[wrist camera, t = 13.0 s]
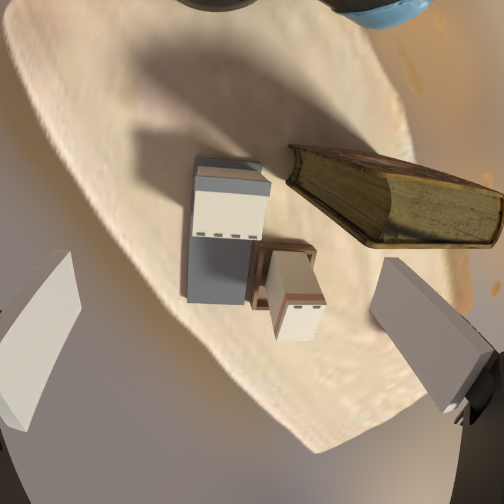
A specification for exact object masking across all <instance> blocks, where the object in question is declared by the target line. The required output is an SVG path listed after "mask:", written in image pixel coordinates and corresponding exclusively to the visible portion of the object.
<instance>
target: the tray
mask: <svg viewBox="0 0 504 504" xmlns="http://www.w3.org/2000/svg"><path fill="white" fill-rule="evenodd" d="M273 250H274V251H292V252H306V255H307V257H308V259H309V262H310V264H311V267H312V269H313V267H314V262H315V258H316V253H317V250H316V249H315V248H314V247H313V246H310V245H295V244H279V243H264V242H259V243H258V250H257V257H256V265H255V272H254V279H253V286H252V293H251V301H250V304H251V308H252V310H270V309H269V305H268V300H267V295H266V291H265V283H266V278H267V274H268V270H269V266H270V261H271V257H272V253H273Z"/></svg>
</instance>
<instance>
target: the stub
mask: <svg viewBox="0 0 504 504" xmlns="http://www.w3.org/2000/svg"><path fill="white" fill-rule="evenodd" d="M265 291H266V295H267V300H268V305H269V309H270V314H271V319H272V324H273V328H274V334H275V338H276V341H311V340H312V338H313V336H314V334H315V331H316V329H317V327H318V325H319V322H320V320H321V318H322V316H323V313H324V311H325V309H326V306H327V304H326V301H325V298H324V296H323V294H322V291H321V289H320V286H319V284H318V281H317V279H316V276H315V274H314V272H313V269H312V267H311V264H310V262H309V259H308V257H307V255H306V252H292V251H274V250H273V253H272V257H271V261H270V266H269V270H268V274H267V278H266V283H265Z"/></svg>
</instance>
